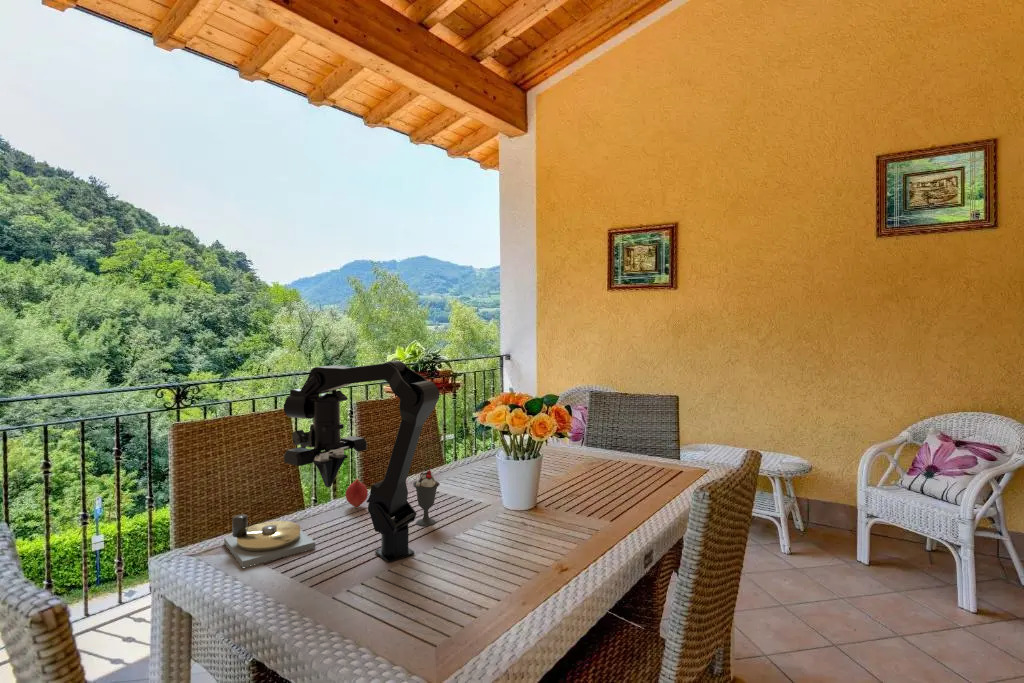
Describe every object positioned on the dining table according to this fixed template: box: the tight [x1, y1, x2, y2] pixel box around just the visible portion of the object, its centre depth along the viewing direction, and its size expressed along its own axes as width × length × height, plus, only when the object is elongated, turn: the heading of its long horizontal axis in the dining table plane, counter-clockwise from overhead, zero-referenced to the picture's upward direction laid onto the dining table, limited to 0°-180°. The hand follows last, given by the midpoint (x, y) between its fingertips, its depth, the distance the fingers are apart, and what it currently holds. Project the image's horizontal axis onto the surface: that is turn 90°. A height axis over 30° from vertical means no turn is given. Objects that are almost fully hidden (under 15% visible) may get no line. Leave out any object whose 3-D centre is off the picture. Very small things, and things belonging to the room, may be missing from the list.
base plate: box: [223, 528, 316, 568], centre depth 120 cm, size 15×15×2 cm
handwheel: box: [231, 513, 301, 551], centre depth 120 cm, size 13×13×6 cm
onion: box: [345, 478, 369, 508], centre depth 145 cm, size 6×6×8 cm
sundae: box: [412, 465, 440, 527], centre depth 135 cm, size 7×7×15 cm
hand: (328, 486), depth 124 cm, fingers closed
